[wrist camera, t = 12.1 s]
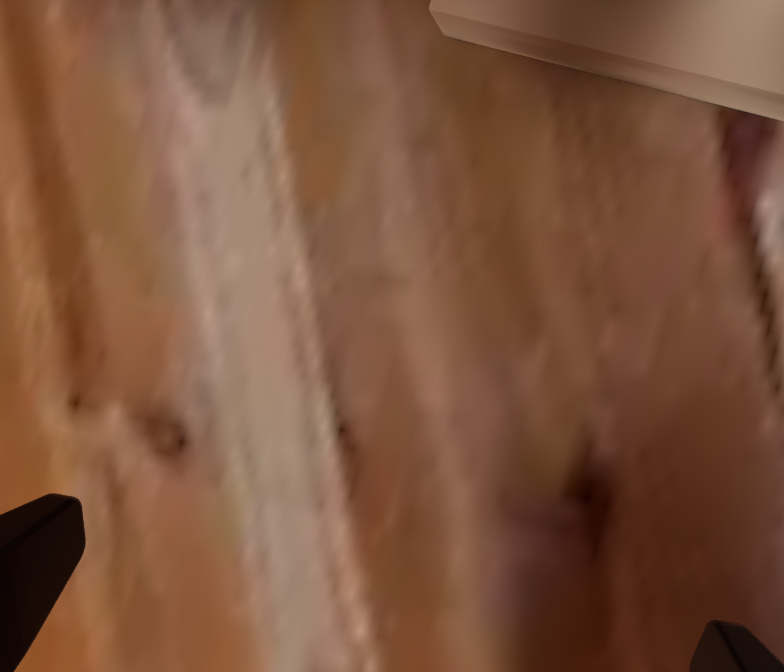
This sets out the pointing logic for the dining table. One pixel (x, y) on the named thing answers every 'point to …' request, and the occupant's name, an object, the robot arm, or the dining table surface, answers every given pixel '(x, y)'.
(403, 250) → the dining table surface
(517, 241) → the dining table surface
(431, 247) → the dining table surface
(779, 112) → the birch plinth
